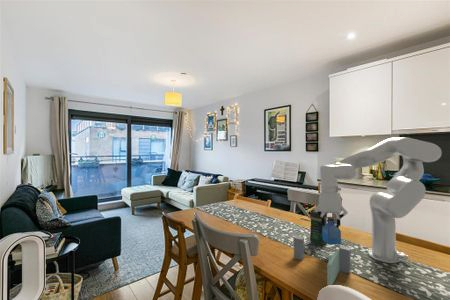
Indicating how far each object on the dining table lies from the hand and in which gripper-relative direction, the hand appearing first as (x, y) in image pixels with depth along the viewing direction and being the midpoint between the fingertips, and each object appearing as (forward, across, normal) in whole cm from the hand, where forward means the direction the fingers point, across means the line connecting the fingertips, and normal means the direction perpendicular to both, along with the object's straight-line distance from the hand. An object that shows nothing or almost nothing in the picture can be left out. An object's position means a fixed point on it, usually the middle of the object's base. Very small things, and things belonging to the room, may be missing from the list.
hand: (330, 225), depth 109 cm
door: (+15, -4, +21) cm, 26 cm away
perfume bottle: (+8, 0, 0) cm, 8 cm away
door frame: (+15, +3, +11) cm, 19 cm away
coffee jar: (+16, +9, -13) cm, 22 cm away
